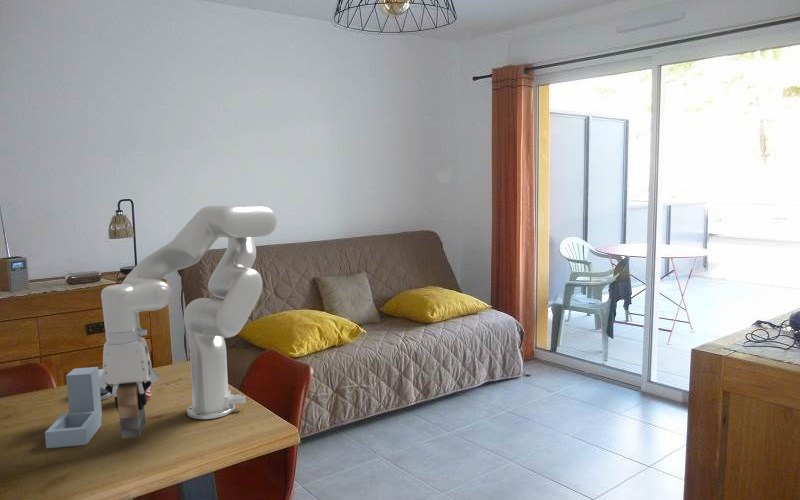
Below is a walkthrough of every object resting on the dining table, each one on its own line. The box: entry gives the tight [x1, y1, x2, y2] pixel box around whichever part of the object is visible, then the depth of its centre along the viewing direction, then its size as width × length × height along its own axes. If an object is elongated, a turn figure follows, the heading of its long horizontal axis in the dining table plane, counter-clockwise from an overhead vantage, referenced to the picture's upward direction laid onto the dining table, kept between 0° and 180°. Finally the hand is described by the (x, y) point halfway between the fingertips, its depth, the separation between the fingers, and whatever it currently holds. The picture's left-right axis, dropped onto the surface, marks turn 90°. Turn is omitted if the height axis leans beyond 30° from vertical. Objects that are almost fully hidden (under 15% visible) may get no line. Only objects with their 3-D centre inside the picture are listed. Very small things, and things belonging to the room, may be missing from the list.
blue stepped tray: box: [44, 366, 103, 449], centre depth 151 cm, size 9×18×14 cm, turn 11°
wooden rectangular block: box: [116, 383, 147, 439], centre depth 144 cm, size 4×7×12 cm, turn 11°
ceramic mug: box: [98, 368, 112, 401], centre depth 178 cm, size 11×8×8 cm
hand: (131, 408), depth 144 cm, fingers closed on wooden rectangular block, 4 cm apart
